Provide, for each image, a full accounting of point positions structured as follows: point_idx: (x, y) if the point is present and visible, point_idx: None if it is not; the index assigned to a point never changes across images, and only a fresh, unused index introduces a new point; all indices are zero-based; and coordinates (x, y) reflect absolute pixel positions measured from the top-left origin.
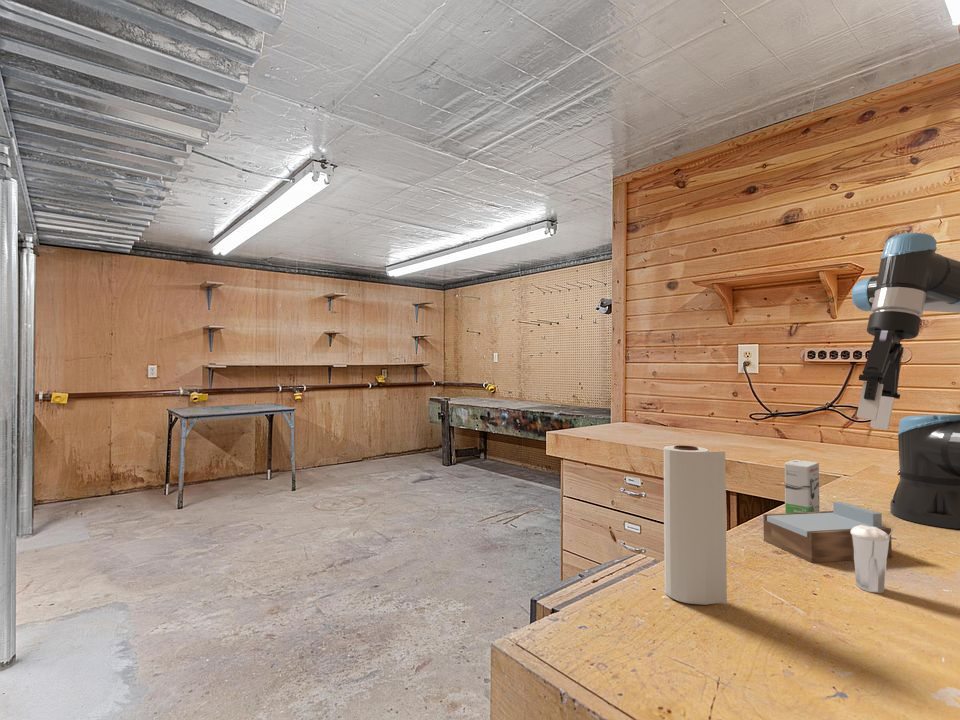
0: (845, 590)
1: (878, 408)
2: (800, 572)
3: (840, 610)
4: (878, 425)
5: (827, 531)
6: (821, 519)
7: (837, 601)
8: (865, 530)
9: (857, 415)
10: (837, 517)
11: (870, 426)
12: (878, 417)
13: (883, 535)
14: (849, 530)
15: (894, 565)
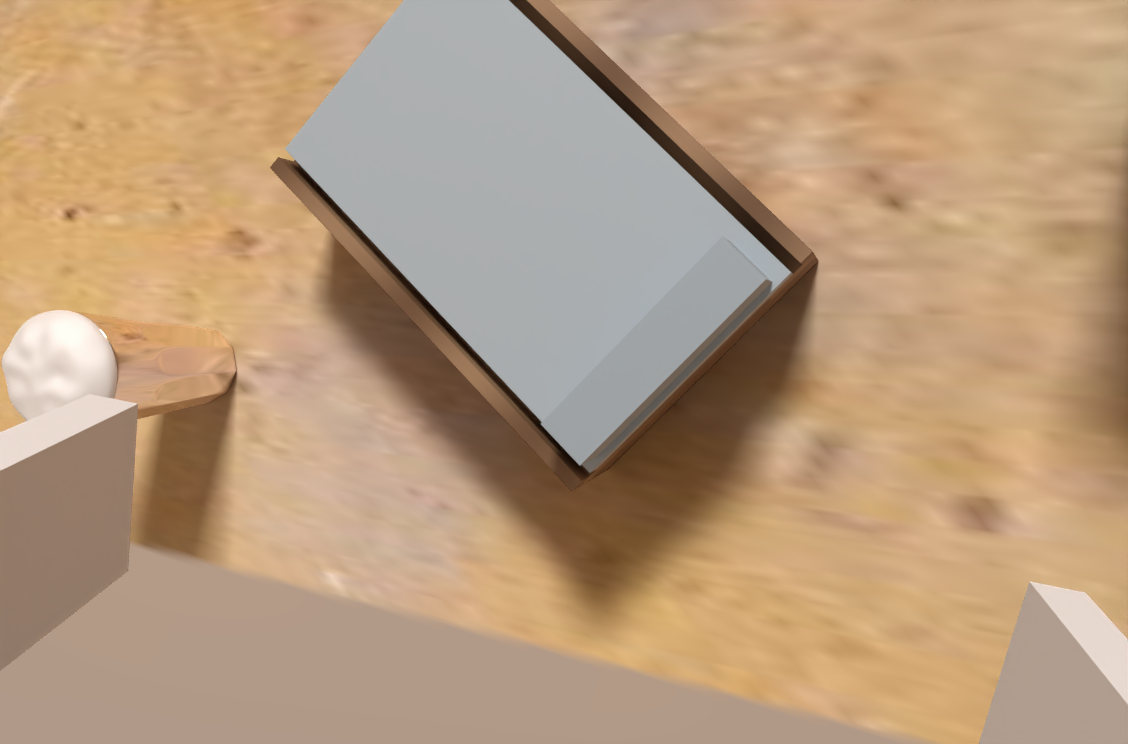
0: (147, 295)
1: (29, 639)
2: (218, 160)
3: (3, 281)
4: (1022, 685)
5: (334, 227)
6: (544, 191)
7: (55, 274)
8: (2, 359)
9: (80, 406)
10: (644, 263)
11: (1029, 590)
12: (1063, 736)
13: (23, 417)
14: (411, 313)
15: (502, 465)
